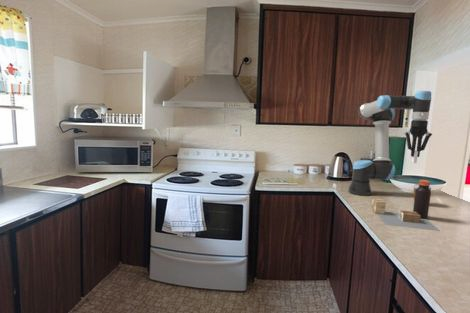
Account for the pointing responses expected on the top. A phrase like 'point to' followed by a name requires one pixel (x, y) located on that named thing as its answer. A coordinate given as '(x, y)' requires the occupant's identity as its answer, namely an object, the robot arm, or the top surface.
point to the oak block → (378, 206)
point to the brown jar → (416, 188)
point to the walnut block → (409, 216)
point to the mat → (394, 220)
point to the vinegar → (422, 199)
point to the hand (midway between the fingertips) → (414, 162)
